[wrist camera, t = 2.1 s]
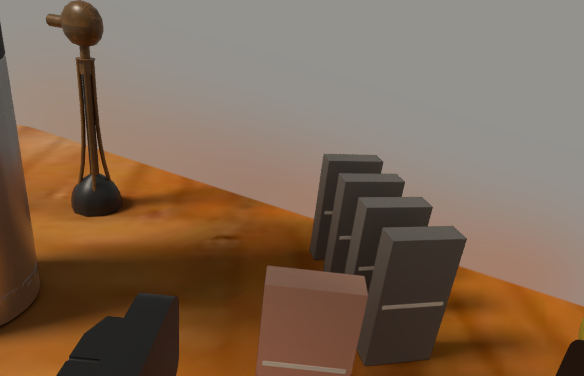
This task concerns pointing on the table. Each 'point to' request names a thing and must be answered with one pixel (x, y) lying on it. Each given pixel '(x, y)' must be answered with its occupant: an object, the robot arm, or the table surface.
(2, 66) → the robot arm
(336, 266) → the charcoal domino
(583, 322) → the lemon
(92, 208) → the wooden tabletop sculpture
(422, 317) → the charcoal domino
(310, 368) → the terracotta domino
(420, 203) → the charcoal domino
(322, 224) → the charcoal domino
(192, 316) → the table surface
